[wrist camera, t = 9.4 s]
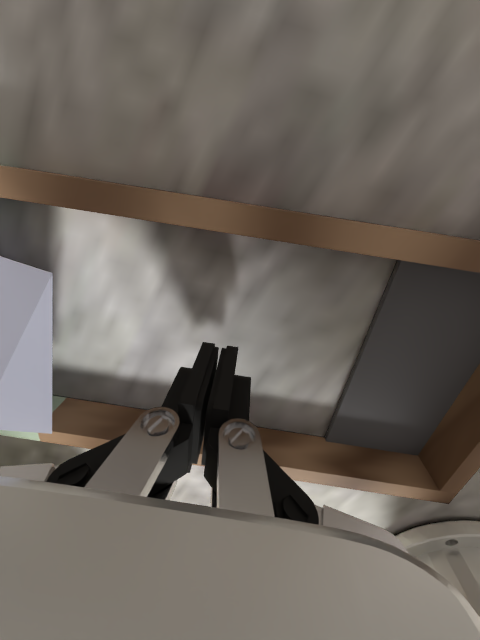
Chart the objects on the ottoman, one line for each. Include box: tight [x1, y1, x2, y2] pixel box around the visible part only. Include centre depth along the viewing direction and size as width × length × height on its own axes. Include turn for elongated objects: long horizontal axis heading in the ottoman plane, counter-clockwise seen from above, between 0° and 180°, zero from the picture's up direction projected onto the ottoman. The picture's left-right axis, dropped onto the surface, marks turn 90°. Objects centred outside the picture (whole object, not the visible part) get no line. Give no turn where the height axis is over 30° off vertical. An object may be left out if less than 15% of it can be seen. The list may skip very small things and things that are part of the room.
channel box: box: [0, 165, 480, 504], centre depth 13 cm, size 24×14×2 cm, turn 82°
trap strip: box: [325, 260, 480, 456], centre depth 14 cm, size 6×12×1 cm, turn 172°
